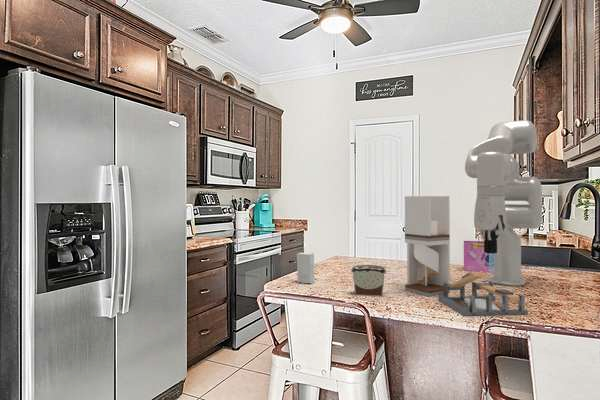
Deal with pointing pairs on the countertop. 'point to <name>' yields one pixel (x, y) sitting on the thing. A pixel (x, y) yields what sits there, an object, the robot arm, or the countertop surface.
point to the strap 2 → (497, 291)
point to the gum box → (477, 257)
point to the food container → (368, 279)
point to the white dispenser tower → (427, 244)
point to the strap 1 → (465, 281)
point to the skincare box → (305, 267)
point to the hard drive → (480, 304)
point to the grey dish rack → (465, 310)
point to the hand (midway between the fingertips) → (490, 252)
